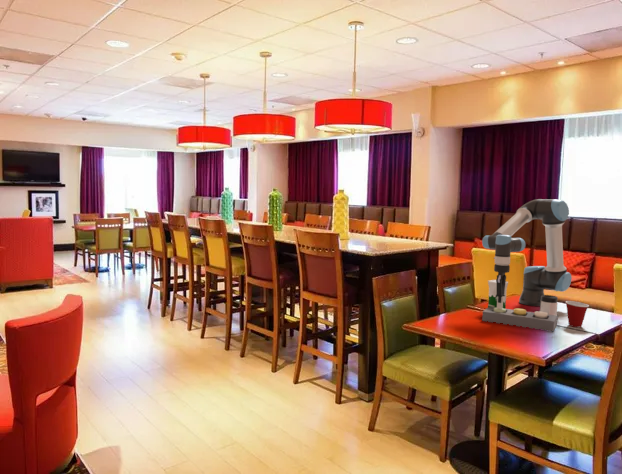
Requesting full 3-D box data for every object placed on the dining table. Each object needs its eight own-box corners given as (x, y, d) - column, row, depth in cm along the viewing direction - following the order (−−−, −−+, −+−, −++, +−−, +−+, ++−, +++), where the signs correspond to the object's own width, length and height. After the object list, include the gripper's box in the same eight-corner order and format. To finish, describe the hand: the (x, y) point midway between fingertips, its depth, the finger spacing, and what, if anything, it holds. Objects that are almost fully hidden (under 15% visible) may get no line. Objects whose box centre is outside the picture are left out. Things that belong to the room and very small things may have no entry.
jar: (559, 318, 268) (561, 297, 267) (552, 321, 263) (554, 299, 261) (543, 315, 275) (544, 294, 274) (536, 317, 270) (537, 296, 268)
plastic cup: (590, 329, 248) (592, 305, 247) (567, 327, 250) (569, 304, 249) (583, 323, 259) (585, 301, 257) (561, 322, 261) (562, 299, 260)
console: (488, 315, 273) (489, 306, 272) (557, 325, 254) (557, 315, 254) (482, 320, 261) (482, 311, 261) (553, 331, 243) (554, 321, 242)
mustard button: (514, 311, 261) (514, 307, 261) (527, 313, 258) (527, 309, 258) (512, 313, 256) (512, 310, 256) (524, 315, 253) (525, 311, 253)
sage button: (494, 310, 267) (495, 307, 267) (506, 312, 264) (506, 308, 263) (492, 312, 262) (492, 309, 262) (504, 314, 259) (504, 310, 258)
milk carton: (508, 313, 277) (510, 278, 275) (496, 315, 273) (497, 279, 272) (496, 310, 285) (498, 275, 283) (484, 311, 281) (486, 276, 279)
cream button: (535, 314, 256) (535, 310, 256) (548, 316, 253) (548, 312, 253) (533, 316, 251) (533, 312, 251) (546, 318, 248) (546, 314, 248)
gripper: (497, 262, 268) (495, 305, 270) (491, 265, 257) (489, 309, 259) (512, 263, 264) (509, 307, 266) (507, 266, 253) (504, 311, 255)
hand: (499, 308), depth 263 cm, fingers closed
